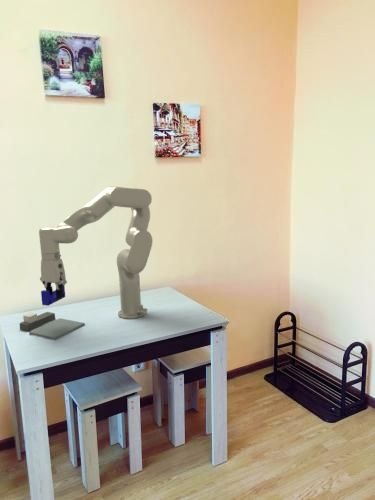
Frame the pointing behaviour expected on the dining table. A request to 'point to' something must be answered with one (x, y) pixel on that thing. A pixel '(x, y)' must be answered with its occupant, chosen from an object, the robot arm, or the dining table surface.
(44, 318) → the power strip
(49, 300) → the blue curved block
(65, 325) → the slate mat
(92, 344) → the dining table surface
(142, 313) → the robot arm
